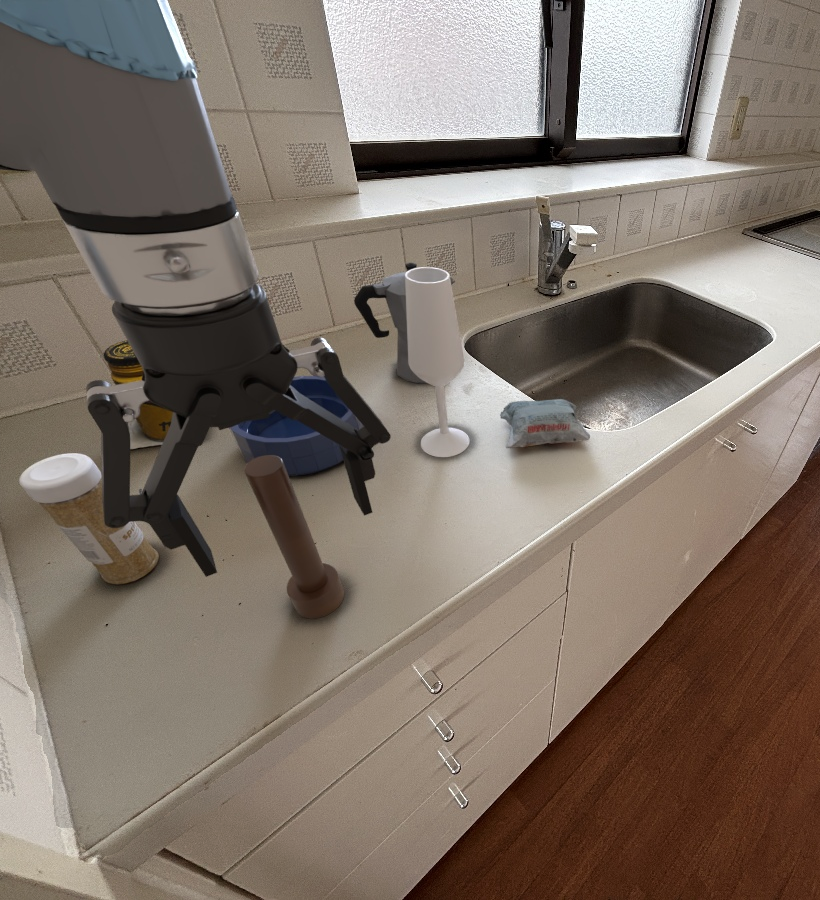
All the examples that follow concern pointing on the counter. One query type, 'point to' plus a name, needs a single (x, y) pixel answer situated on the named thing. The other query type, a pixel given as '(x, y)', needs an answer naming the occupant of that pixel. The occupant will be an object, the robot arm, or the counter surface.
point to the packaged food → (542, 423)
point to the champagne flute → (435, 349)
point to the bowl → (296, 432)
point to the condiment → (152, 416)
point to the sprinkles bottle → (88, 516)
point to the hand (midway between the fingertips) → (291, 532)
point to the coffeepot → (396, 302)
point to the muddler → (294, 539)
